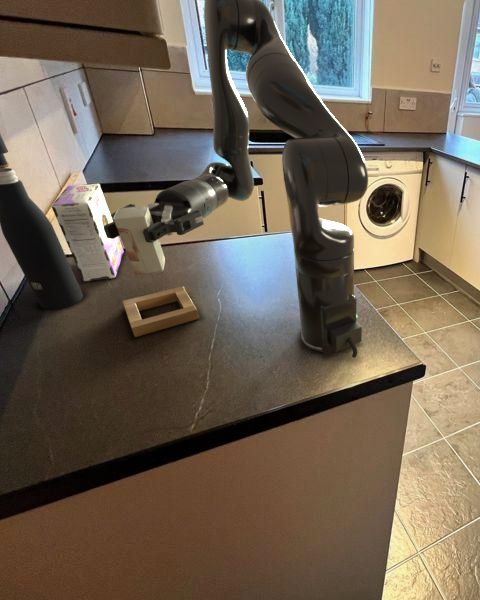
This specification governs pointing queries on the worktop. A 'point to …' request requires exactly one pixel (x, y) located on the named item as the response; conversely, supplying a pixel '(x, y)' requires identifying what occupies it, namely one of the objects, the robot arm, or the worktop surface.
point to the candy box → (88, 231)
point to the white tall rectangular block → (139, 240)
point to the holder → (161, 320)
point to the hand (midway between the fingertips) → (127, 234)
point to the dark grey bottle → (34, 243)
